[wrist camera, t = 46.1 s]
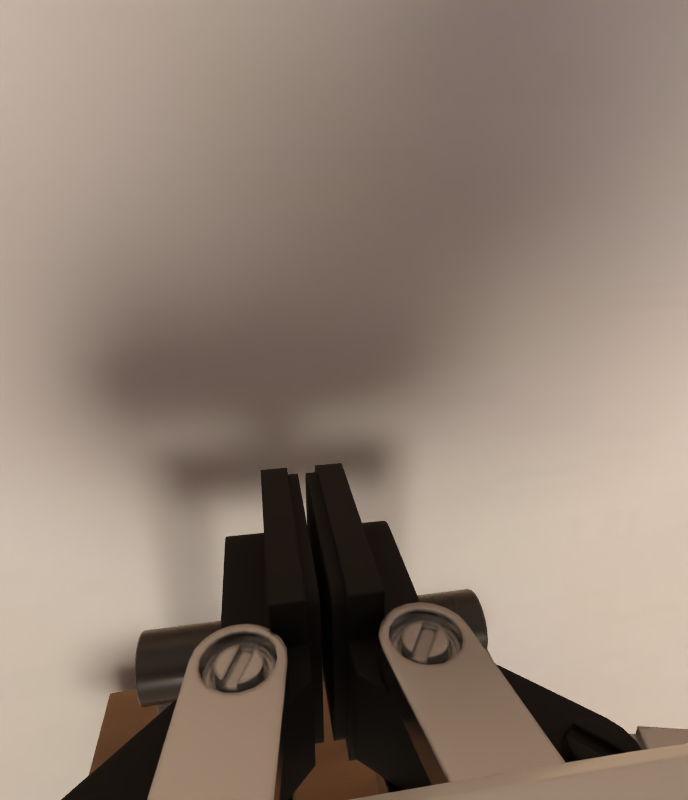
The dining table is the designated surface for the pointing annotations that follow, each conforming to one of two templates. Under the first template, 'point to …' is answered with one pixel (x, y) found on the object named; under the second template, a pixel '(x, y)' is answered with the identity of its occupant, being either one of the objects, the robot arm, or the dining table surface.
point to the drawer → (162, 679)
